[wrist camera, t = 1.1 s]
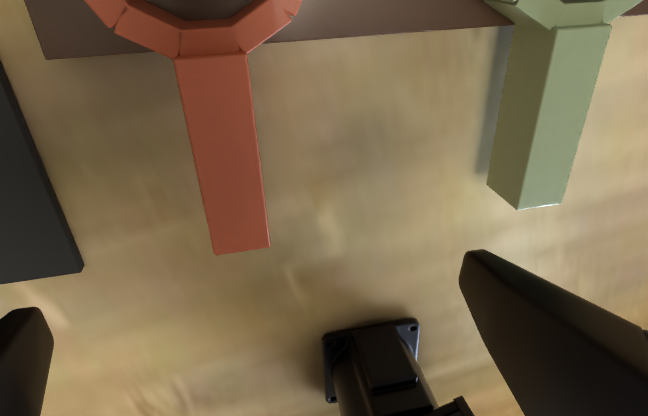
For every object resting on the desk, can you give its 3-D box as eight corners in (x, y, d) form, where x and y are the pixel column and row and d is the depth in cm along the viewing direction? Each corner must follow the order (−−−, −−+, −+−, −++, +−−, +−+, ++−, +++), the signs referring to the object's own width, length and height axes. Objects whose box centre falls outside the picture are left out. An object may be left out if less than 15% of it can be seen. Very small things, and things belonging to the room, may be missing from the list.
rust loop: (322, 207, 21) (334, 238, 19) (153, 230, 20) (144, 267, 17) (301, -239, 13) (318, -283, 11) (15, -247, 12) (-37, -299, 9)
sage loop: (573, 172, 23) (612, 196, 21) (435, 191, 22) (461, 219, 20) (688, -228, 15) (775, -262, 13) (482, -234, 14) (535, -273, 12)
